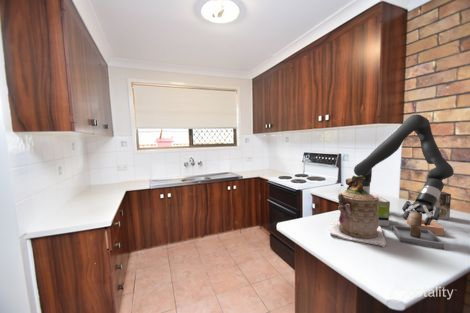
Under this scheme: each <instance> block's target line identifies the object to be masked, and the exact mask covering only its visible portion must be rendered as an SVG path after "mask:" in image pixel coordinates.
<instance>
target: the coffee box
mask: <svg viewBox="0 0 470 313" xmlns="http://www.w3.org/2000/svg"><path fill="white" fill-rule="evenodd" d="M451 198H452V194H451V193H450V192H445V191H441V193H440V196H439V199H438V200H437V202H436V204H435V206H434V208H440V210H441V214H440V216H439V219H440V220H444V219H445V220H449V219H450V218H451V216H450V215H451V203H452V201H451V200H452V199H451ZM429 213H430V215H431V216H434V213H435V212H434V210H433V211H431V212H429ZM426 216H427V214H426ZM439 219H438V220H439Z"/></svg>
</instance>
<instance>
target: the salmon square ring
mask: <svg viewBox="0 0 470 313" xmlns="http://www.w3.org/2000/svg"><path fill="white" fill-rule="evenodd" d="M425 220H426V218H422V224H421V229H426V230H430V231H431V232H432V233H433V234H434V235H435V236H441V237H443V236H444V233H445V228H444V227H443V226H442V225H440V224H439V223H438V222H437V221H436V220H432V221H431V223H430V225H427V226H425V225H424V222H425ZM406 224H407V225H408V227H411V217H410V216H408V218H407V220H406Z"/></svg>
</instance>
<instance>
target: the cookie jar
mask: <svg viewBox="0 0 470 313" xmlns="http://www.w3.org/2000/svg"><path fill="white" fill-rule="evenodd" d="M363 180H365V178H363V176H357V175H352V177H351V178H346V179H345V184H346V185H347V187H346V189H345V190H343V191H341V192H339V193H338V194H337V199H338V207H337V208H338V210H339V211H340V213H339V217H338V219H336V218H335V219H332V223H331V224H330V225H331V226H330V231H329V234H330V235H333V236H335V237H338V238H339V239H342V240H349V241H352V242H353V241H355V242H359V243H366V244H371V245H375V246H380V247H383V248H385V247H386V246H385V245H387V240H386V238H385V236H384V234H383V229H382V227H381V226H379V214H378V204H377V202H378V201H379V197H377V196H378V195H377V196H375V194H371V193H370V194H369V193H368V192H366V191H365V190H363Z"/></svg>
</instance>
